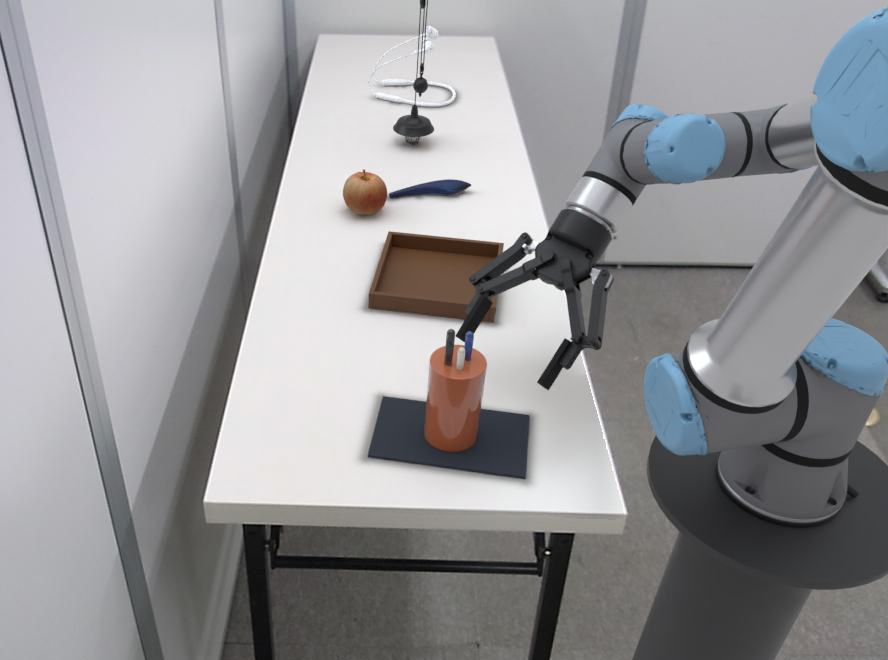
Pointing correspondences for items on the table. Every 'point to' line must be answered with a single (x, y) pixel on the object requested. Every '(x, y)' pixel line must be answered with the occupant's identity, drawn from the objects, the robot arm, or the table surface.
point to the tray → (430, 274)
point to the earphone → (428, 48)
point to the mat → (490, 454)
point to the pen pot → (454, 394)
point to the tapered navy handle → (433, 188)
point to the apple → (364, 193)
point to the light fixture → (414, 122)
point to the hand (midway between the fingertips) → (500, 362)
